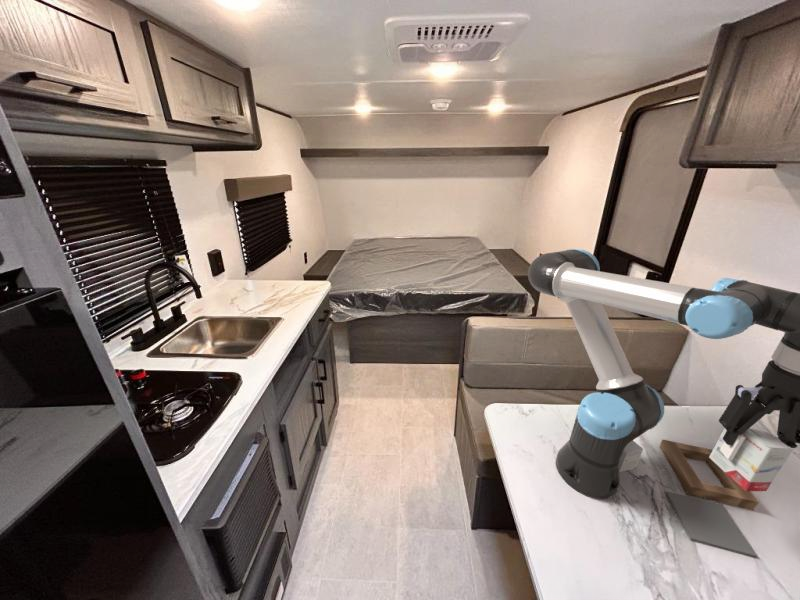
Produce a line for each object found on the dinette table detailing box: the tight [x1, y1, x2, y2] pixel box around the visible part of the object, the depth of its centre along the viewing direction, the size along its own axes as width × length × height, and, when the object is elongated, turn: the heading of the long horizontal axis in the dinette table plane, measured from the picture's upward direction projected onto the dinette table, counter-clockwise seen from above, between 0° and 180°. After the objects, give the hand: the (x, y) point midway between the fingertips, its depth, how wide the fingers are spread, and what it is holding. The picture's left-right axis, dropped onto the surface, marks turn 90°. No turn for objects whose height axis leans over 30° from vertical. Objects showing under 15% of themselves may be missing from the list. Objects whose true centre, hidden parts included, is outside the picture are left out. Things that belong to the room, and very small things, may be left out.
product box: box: [618, 440, 644, 473], centre depth 90 cm, size 6×6×7 cm
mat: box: [665, 490, 758, 558], centre depth 76 cm, size 12×12×1 cm
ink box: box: [709, 422, 794, 492], centre depth 67 cm, size 9×5×12 cm, turn 179°
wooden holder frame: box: [659, 439, 760, 511], centre depth 87 cm, size 14×16×3 cm
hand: (744, 458), depth 68 cm, fingers closed on ink box, 6 cm apart
